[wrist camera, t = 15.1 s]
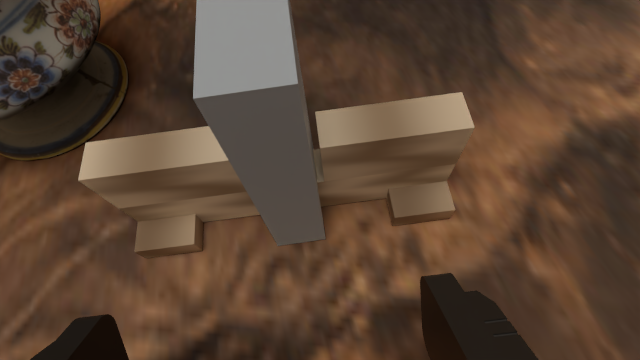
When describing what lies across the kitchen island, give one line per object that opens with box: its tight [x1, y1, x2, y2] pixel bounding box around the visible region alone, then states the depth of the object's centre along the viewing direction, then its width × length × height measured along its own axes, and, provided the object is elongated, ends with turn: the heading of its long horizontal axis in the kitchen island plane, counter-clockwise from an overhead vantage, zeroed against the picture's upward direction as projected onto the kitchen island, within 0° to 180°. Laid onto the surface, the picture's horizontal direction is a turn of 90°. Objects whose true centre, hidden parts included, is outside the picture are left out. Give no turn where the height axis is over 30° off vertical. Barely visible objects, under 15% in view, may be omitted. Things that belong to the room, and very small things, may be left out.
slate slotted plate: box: [193, 0, 326, 246], centre depth 15 cm, size 2×5×12 cm, turn 7°
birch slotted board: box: [78, 92, 475, 258], centre depth 18 cm, size 16×5×6 cm, turn 97°
